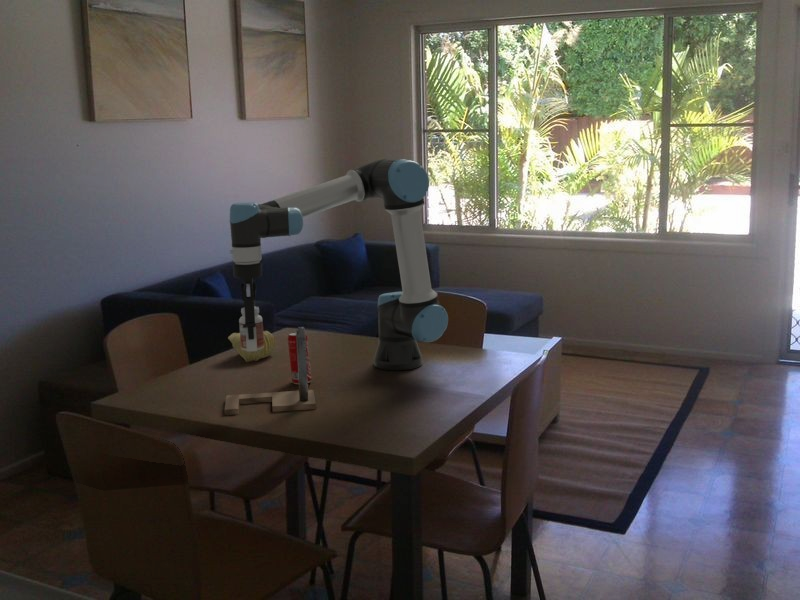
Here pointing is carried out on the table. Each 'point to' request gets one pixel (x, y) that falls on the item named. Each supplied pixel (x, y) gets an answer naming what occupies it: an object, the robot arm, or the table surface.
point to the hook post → (302, 364)
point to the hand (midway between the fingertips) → (252, 347)
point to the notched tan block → (278, 399)
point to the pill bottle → (258, 329)
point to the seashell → (254, 355)
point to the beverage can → (293, 358)
